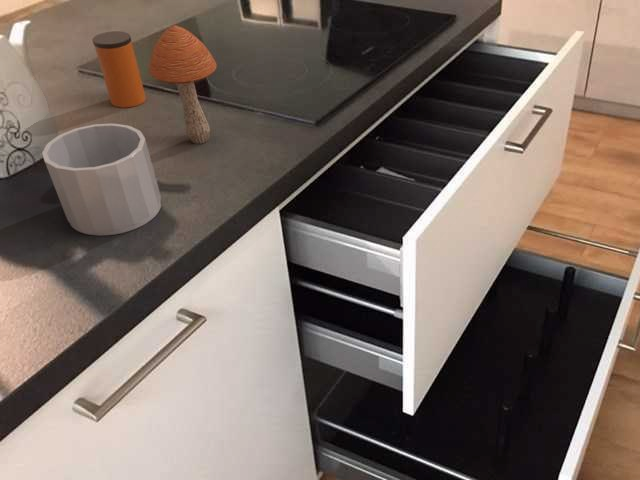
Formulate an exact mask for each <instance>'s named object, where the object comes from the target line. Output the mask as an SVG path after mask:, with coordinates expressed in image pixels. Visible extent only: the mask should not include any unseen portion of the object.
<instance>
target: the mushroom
mask: <svg viewBox="0 0 640 480" xmlns="http://www.w3.org/2000/svg"><path fill="white" fill-rule="evenodd" d="M151 52H152V53H151V54H150V59H149V65H148V73H149V75H150V76H151V77H153V79H156V80H158V81H159V82H163V83H168V84H175V85H176V89H177V91H178V94H179V97H180V100H181V104H182V111H183V119H184V126H185V133H186V136H187V137H188V138H189V140H190V141H191V142H192V143H193V144H204V143H206V142H208V141H209V140H210V135H211V128H210V125H209V123H208V120H207V118H206V115H205V113H204V111H203V109H202V107H201V105H200V101H199V99H198V95H197V90H196V85H195V82H199V81H201V80H203V79H204V80H205V79H207V78H208V77H209V76H211V75H212V74H213V73H214V72H215V71H216V69H217V65H218V64H217V62H216V60H215V58H214V57H213V55H212V54H211V52H210V50H209V49H208V47H206V45H205V44H204V43H203V42H202V41H201V40H200V39H199V38H198V37H197V36H195V35H194V34H193V33H192V32H191V31H189V30H187V29H185V28H184V27H181V26H179V25H175V24H173V25H171V26H170V27H169V28H167V29H166V30H165V31H164V32H163V33H162V34H161V35H160V37H159V38H158V40H157V41H156V42H155V45H154V47H153V49H152V51H151Z"/></svg>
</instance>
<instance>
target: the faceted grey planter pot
mask: <svg viewBox="0 0 640 480" xmlns="http://www.w3.org/2000/svg"><path fill="white" fill-rule="evenodd" d="M41 155H42V159H43V161H44V163H45V167H46V169H47V171H48V174H49V176H50V179H51V182H52V184H53V186H54V189H55V191H56V194H57V196H58V199H59V202H60V204H61V207H62V209H63V212H64V215H65V217H66V220H67V222H68V224H69V226H70V227H71V228H72V229H73V230H75V231H77V232H79V233H81V234H84V235H89V236H99V237H100V236H102V237H103V236H105V237H106V236H113V235H120V234H124V233H127V232H131V231H134V230H137V229H138V228H139V229H140V228H141V227H142V226H144V225H146V224H148V223H149V222H150V221H152V220H153V219H154V218H155V217H157V215H158V214H159V212H160V210H161V208H162V196H161V192H160V188H159V184H158V181H157V178H156V177H157V176H156V173H155V170H154V165H153V162H152V159H151V154H150V151H149V147H148V144H147V140H146V138H145V136H144V134H143V132H142V131H141V130H139V129H137V128H135V127H133V126H131V125H126V124H121V123H120V124H119V123H114V122H113V123H95V124H90V125H84V126H80V127H76V128H73V129H71V130H68V131H66V132H63V133H61V134H58V135H57V136H56V137H54V138H52V140H50V141H48V142H47V143H46V145H45V146H44V148H43V150H42V152H41Z"/></svg>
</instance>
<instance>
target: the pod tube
mask: <svg viewBox="0 0 640 480" xmlns="http://www.w3.org/2000/svg"><path fill="white" fill-rule="evenodd" d="M91 40H92V44H93V46H94V49H95V52H96V56H97V59H98V63H99V66H100V69H101V73H102V77H103V80H104V83H105V86H106V90H107V93H108V97H109V100H110V104H111V105H112V106H114V107H116V108H125V109H126V108H133V107H137V106H140V105H142V104H143V103H145V101H146V100H147V96H146V93H145V89H144V85H143V80H142V78H141V77H142V76H141V73H140V70H139V66H138V61H137V57H136V54H135V50H134V46H133V42H132V36H131V34H130V33H129V32H126V31H119V30H117V31H115V30H114V31H105V32H102V33H101V32H100V33H99V34H96V35H94V36H93V38H92V39H91Z"/></svg>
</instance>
